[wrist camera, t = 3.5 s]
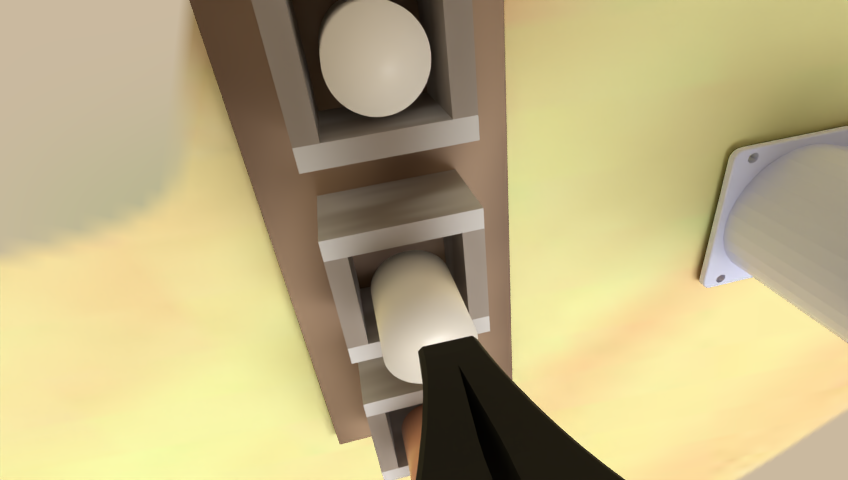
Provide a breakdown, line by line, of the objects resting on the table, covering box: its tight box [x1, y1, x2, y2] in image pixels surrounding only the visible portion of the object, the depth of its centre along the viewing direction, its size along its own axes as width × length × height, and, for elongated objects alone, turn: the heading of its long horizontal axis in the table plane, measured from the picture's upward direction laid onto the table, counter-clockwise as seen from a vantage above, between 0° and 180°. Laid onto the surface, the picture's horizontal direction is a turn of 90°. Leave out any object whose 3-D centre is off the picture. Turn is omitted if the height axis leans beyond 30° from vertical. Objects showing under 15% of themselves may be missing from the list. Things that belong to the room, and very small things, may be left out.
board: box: [190, 0, 512, 480], centre depth 19 cm, size 10×24×4 cm, turn 7°
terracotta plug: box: [401, 404, 423, 480], centre depth 20 cm, size 3×3×3 cm
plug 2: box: [371, 250, 478, 384], centre depth 16 cm, size 3×3×3 cm
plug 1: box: [318, 0, 431, 117], centre depth 14 cm, size 3×3×3 cm
